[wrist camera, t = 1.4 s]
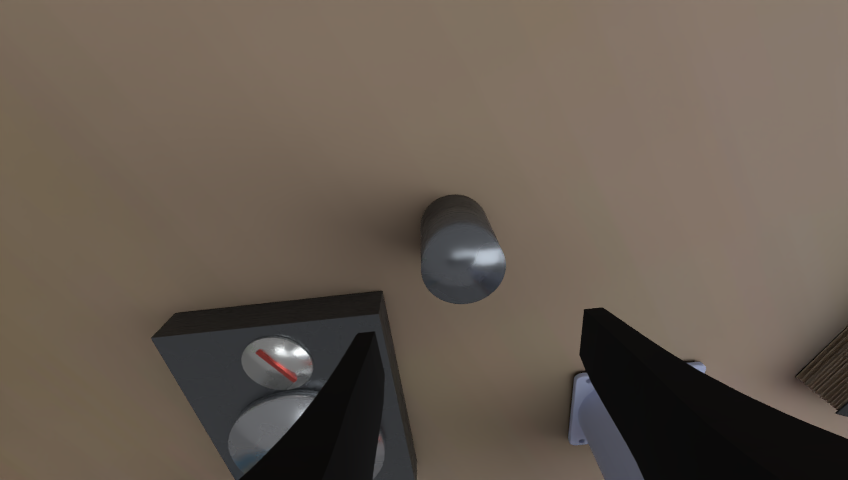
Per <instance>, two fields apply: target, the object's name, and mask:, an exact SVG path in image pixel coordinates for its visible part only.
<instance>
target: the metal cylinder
mask: <svg viewBox="0 0 848 480" xmlns="http://www.w3.org/2000/svg"><path fill="white" fill-rule="evenodd" d="M420 233H421V273H422V278H423V281H424V283H425V285H426V287H427V288H428V290H429V291H430V292H431V293H432V294H433V295H435V296H436V297H437V298H439V299H441V300H443V301H446V302H449V303H454V304H468V303H473V302H477V301H479V300H482V299H484V298H485V297H487V296H489V295H490V294H491V293H492V292H494V291H495V290H496V289H497V287H498V286H499V285H500V283H501V281H502V280H503V277H504V274H505V270H506V262H505V257H504V254H503V252H502V249H501V247H500V245H499V243H498V241H497V239H496V236H495V234H494V232H493V230H492V228H491V225H490V223H489V221H488V219H487V217H486V215H485V212H484V210H483V209H482V207H481V206H480V205H479V204H478V203H477V202H476V201H474V200H473V199H471V198H469V197H466V196H463V195H448V196H444V197H441V198H439V199H437V200H435V201H434V202H433V203H431V204H430V205H429V206H428V207H427V209H426V210H425V212H424V214H423V216H422V219H421V224H420Z"/></svg>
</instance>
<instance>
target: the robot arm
mask: <svg viewBox="0 0 848 480" xmlns="http://www.w3.org/2000/svg"><path fill="white" fill-rule="evenodd" d="M579 355H580V357H581V360H582V362H583V365H584V367H585V369H586V372H587V373H579V374H577V375H576V376H575V377H574V384H573V394H572V404H571V414H570V424H569V434H568V440H569V443H570V444H571V445H584V444H589V446H590V448H591V450H592V453H593V455H594V457H595V459H596V461H597V464H598V466H599V468H600V470H601V472H602V475H603V477H604V479H605V480H848V439H847V438H844V437H841V436H839V435H836V434H834V433H831V432H829V431H826V430H824V429H821V428H819V427H816V426H814V425H811V424H809V423H807V422H804V421H802V420H799V419H797V418H795V417H792V416H790V415H788V414H785V413H783V412H781V411H779V410H777V409H775V408H772V407H770V406H768V405H766V404H764V403H761V402H759V401H757V400H755V399H753V398H751V397H749V396H747V395H745V394H743V393H741V392H739V391H737V390H735V389H733V388H731V387H729V386H727V385H725V384H723V383H721V382H719V381H718V380H716V379H714V378H712V377H710V376H708V375H706V374H705V370H706V367H705V366H704V364H703V363H701V362H690V363H686V362H684V361H683V360H681V359H679V358H677V357H676V356H674V355H673V354H671V353H669V352H668V351H666V350H665V349H663V348H662V347H660V346H659V345H657V344H656V343H654V342H652V341H651V340H649V339H648V338H646V337H645V336H644V335H642V334H641V333H639V332H638V331H636V330H635V329H633V328H632V327H630V326H629V325H627V324H626V323H625V322H623V321H622V320H620V319H619V318H617V317H616V316H614V315H613V314H612V313H610V312H609V311H607V310H606V309H604V308H592V309H584V316H583V325H582V335H581V344H580V354H579ZM384 384H385V373H384V368H383V364H382V360H381V355H380V351H379V346H378V342H377V338H376V333H375V331H373V332H363V333H357V335H356V336H355V337H354V339H353V341H352V342H351V344H350V346H349V347H348V349H347V351H346V352H345V354H344V356H343V357H342V359H341V360H340V362H339V364H338V365H337V367H336V368H335V370H334V371H333V373H332V374H331V376H330V377H329V379H328V380H327V382H326V383H325V384H324V386H323V387H322V389H321V390H320V391H319V393H318V394H317V395H316V397H315V398H314V399H313V401H312V402H311V403H310V405H309V406H308V407H307V408H306V410H305V411H304V412H303V413H302V415H301V416H300V417H299V418H298V419H297V421H296V422H295V423H294V424H293V425H292V426H291V428H290V429H289V430H288V431H287V432H286V433H285V434H284V435H283V436H282V438H281V439H280V440H279V441H278V442H277V443H276V444H275V445H274V446H273V447H272V448H271V449H270V450H269V451H268V452H267V453H266V454H265V455H264V456H263V457H262V458H261V459H260V460H259V461H258V462H257V463H256V464H255V465H254V466H253V467H252V468H251V469H250V470H249V471H248V472H246V473H245V474H244V475H243V476H242V477H241V478H240V479H239V480H373V471H374V465H375V458H376V451H377V445H378V438H379V432H380V425H381V418H382V412H383V405H384Z"/></svg>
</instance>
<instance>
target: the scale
mask: <svg viewBox="0 0 848 480" xmlns="http://www.w3.org/2000/svg"><path fill="white" fill-rule="evenodd" d="M373 331H375V333H376V338H377V342H378V346H379V351H380V355H381V360H382V364H383V368H384V373H385V384H384V405H383V412H382V418H381V425H380V432H379V438H378V445H377V451H376V458H375V465H374V471H373V480H417V459H416V454H415V449H414V444H413V439H412V434H411V429H410V424H409V419H408V414H407V409H406V405H405V400H404V395H403V390H402V385H401V380H400V375H399V370H398V365H397V360H396V355H395V350H394V345H393V341H392V336H391V331H390V326H389V321H388V316H387V311H386V306H385V301H384V296H383V291H377V292H367V293H358V294H349V295H340V296H330V297H321V298H312V299H302V300H293V301H284V302H275V303H265V304H256V305H247V306H238V307H228V308H219V309H210V310H201V311H191V312H182V313H175V314H174V315H173V316H172V317H171V318H170V319H169V320H168V321H167V322H166V323H165V324H164V325H163V326H162V327H161V328H160V329H159V330H158V331H157V332H156V333H155V334H154V335H153V336H152V337H151V339H152V341H153V342H154V344H155V346H156V347H157V349H158V351H159V352H160V354H161V356H162V358H163V359H164V361H165V363H166V364H167V366H168V368H169V369H170V371H171V373H172V374H173V376H174V378H175V379H176V381H177V383H178V384H179V386H180V388H181V389H182V391H183V393H184V395H185V396H186V398H187V400H188V401H189V403H190V405H191V406H192V408H193V410H194V411H195V413H196V415H197V416H198V418H199V420H200V421H201V423H202V425H203V426H204V428H205V430H206V432H207V433H208V435H209V437H210V438H211V440H212V442H213V443H214V445H215V447H216V448H217V450H218V452H219V453H220V455H221V457H222V458H223V460H224V462H225V463H226V465H227V467H228V469H229V470H230V472H231V474H232V475H233V477H234V479H235V480H239V479H240V478H241V477H242V476H243V475H244V474H245V473H246V472H248V471H249V470H250V469H251V468H252V467H253V466H254V465H255V464H256V463H257V462H258V461H259V460H260V459H261V458H262V457H263V456H264V455H265V454H266V453H267V452H268V451H269V450H270V449H271V448H272V447H273V446H274V445H275V444H276V443H277V442H278V441H279V440H280V439H281V438H282V436H283V435H284V434H285V433H286V432H287V431H288V430H289V429H290V428H291V426H292V425H293V424H294V423H295V422H296V421H297V419H298V418H299V417H300V416H301V415H302V413H303V412H304V411H305V410H306V408H307V407H308V406H309V405H310V403H311V402H312V401H313V399H314V398H315V397H316V395H317V394H318V393H319V391H320V390H321V389H322V387H323V386H324V384H325V383H326V382H327V380H328V379H329V377H330V376H331V374H332V373H333V371H334V370H335V368H336V367H337V365H338V364H339V362H340V360H341V359H342V357H343V356H344V354H345V352H346V351H347V349H348V347H349V346H350V344H351V342H352V341H353V339H354V337H355V336H356V335H357V333H363V332H373Z"/></svg>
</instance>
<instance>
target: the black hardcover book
mask: <svg viewBox="0 0 848 480" xmlns="http://www.w3.org/2000/svg"><path fill="white" fill-rule="evenodd" d="M796 378H799V379H801V380H800V381H802V382H805V385H807V386H808V387H810V389H812V391H815V393H817V394H819V396H820V397H823V398H822V399H824V400H827V402H828V403H831V404H830V405H832V407H834V408H836V410H838V411H837V412H836V414H839V415H843V416H847V417H848V327H847V328H846V329H845V330H844V331H843V332H842V333H841V334H840V335H839V336H838V337H837V338H836V339H835V340H833V341H832V342H831V343H830V344H829V345H828V346H827V347H826V348H825V349H824V350H823V351H822V352H821V353H820V354H819V355H818V356H817V357H816V358H815V359H814V360H813V361H812V362H811V363H810V364H809V365H808V366H807V367H806V368H805V369H804V370H802V371H801V372H800V373H799V374H798V375H797V376H796Z"/></svg>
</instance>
